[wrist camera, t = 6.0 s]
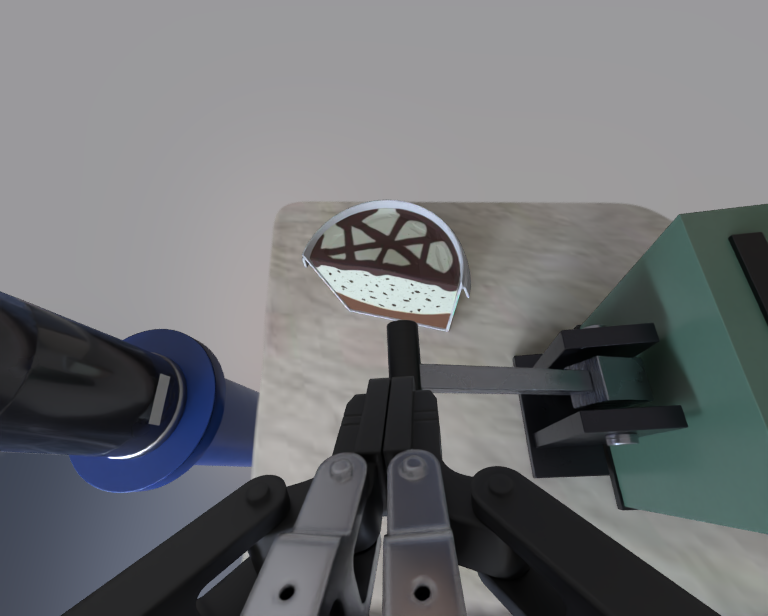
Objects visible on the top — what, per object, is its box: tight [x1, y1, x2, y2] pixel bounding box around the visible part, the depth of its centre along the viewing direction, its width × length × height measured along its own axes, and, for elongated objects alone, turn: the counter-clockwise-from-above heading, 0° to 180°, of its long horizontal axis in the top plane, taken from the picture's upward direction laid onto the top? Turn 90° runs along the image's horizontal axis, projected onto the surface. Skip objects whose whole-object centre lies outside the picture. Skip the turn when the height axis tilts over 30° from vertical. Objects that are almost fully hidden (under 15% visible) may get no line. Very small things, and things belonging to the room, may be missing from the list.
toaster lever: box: [387, 320, 654, 409], centre depth 19 cm, size 13×5×2 cm, turn 92°
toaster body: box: [574, 204, 768, 534], centre depth 22 cm, size 7×13×16 cm, turn 3°
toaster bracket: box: [513, 323, 688, 478], centre depth 24 cm, size 5×9×13 cm, turn 3°
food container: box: [302, 200, 471, 332], centre depth 32 cm, size 12×6×10 cm, turn 74°
